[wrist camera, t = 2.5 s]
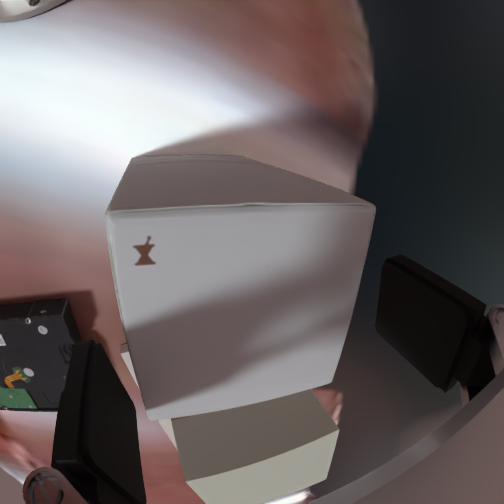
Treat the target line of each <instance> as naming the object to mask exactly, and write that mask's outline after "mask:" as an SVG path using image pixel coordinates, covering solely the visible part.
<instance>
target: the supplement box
mask: <svg viewBox="0 0 504 504" xmlns="http://www.w3.org/2000/svg"><path fill="white" fill-rule="evenodd" d="M375 213H376V207H375V205H373V204H372V203H370V202H367V201H365V200H363V199H361V198H358V197H356V196H354V195H352V194H349V193H347V192H344V191H342V190H339V189H337V188H334V187H332V186H329V185H326V184H324V183H321V182H318V181H315V180H312V179H310V178H307V177H304V176H301V175H298V174H295V173H292V172H289V171H286V170H283V169H280V168H276V167H273V166H270V165H267V164H264V163H261V162H257V161H254V160H251V159H249V158H245V157H242V156H228V155H173V156H151V157H135V158H132V159H131V161H130V163H129V165H128V167H127V169H126V171H125V173H124V175H123V177H122V179H121V181H120V183H119V185H118V187H117V189H116V191H115V193H114V195H113V197H112V200H111V202H110V204H109V206H108V208H107V210H106V212H105V223H106V232H107V240H108V248H109V255H110V261H111V268H112V274H113V280H114V285H115V291H116V296H117V302H118V307H119V312H120V316H121V321H122V325H123V330H124V334H125V338H126V342H127V346H128V350H129V354H130V358H131V361H132V365H133V369H134V372H135V376H136V379H137V382H138V386H139V389H140V392H141V396H142V399H143V402H144V406H145V409H146V412H147V415H148V418H149V419H150V420H163V419H171V418H177V417H184V416H191V415H197V414H203V413H209V412H215V411H220V410H225V409H230V408H235V407H240V406H245V405H250V404H254V403H258V402H263V401H267V400H271V399H275V398H279V397H283V396H287V395H290V394H294V393H298V392H301V391H305V390H308V389H312V388H315V387H319V386H322V385H325V384H329V383H331V382H332V380H333V377H334V374H335V371H336V368H337V365H338V362H339V359H340V355H341V352H342V349H343V345H344V342H345V339H346V335H347V331H348V328H349V325H350V321H351V318H352V314H353V310H354V306H355V302H356V297H357V293H358V289H359V284H360V279H361V276H362V271H363V267H364V263H365V259H366V255H367V250H368V246H369V242H370V237H371V232H372V227H373V222H374V217H375Z"/></svg>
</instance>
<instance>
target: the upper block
mask: <svg viewBox="0 0 504 504" xmlns="http://www.w3.org/2000/svg"><path fill="white" fill-rule="evenodd" d="M171 422H172V427H173V432H174V436H175V441H176V445H177V449H178V454H179V458H180V462H181V466H182V470H183V473H184V477H185V481H186V483H187V484H188V485H189V486H190V487H191V488H192V489H193V490H194V491H195V492H196V494H197V495H198V496H199V497H200V498H201V499H202V500H203V501H204V502H205V503H206V504H263V503H266V502H269V501H272V500H275V499H278V498H281V497H284V496H286V495H289V494H292V493H294V492H297V491H299V490H302V489H304V488H306V487H309V486H311V485H313V484H316V483H318V482H320V481H323V480H325V479H326V477H327V474H328V470H329V467H330V463H331V460H332V456H333V452H334V449H335V445H336V441H337V437H338V433H339V428H338V427H337V425H336V424H335V422H334V421H333V419H332V418H331V417H330V415H329V414H328V412H327V411H326V409H325V408H324V406H323V405H322V404H321V402H320V401H319V399H318V398H317V396H316V395H315V393H314V392H313V390H312V389H308V390H305V391H301V392H298V393H294V394H290V395H287V396H283V397H279V398H275V399H271V400H267V401H263V402H258V403H254V404H250V405H245V406H240V407H235V408H230V409H225V410H220V411H215V412H209V413H203V414H199V415H195V416H191V417H187V418H183V419H178V420H174V421H171Z"/></svg>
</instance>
